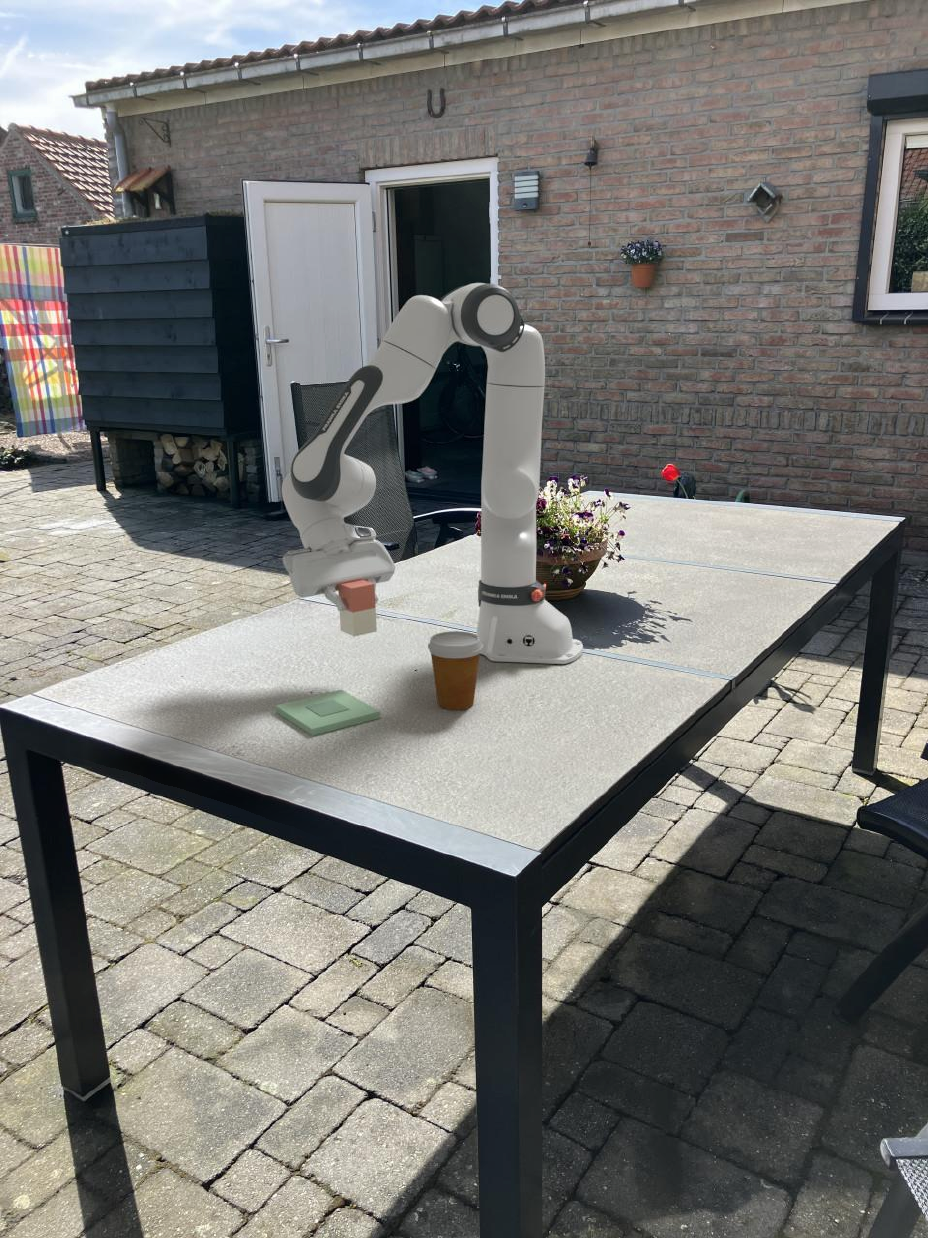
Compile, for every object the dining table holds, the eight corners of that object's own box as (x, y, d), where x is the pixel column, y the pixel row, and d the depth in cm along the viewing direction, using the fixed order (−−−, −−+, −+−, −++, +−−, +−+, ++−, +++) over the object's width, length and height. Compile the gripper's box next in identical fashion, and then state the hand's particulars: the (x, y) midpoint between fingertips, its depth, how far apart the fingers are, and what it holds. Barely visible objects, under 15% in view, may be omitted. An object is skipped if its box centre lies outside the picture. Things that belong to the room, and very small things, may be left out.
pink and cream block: (363, 625, 192) (360, 578, 189) (376, 631, 188) (374, 583, 185) (340, 630, 189) (338, 583, 186) (354, 636, 185) (351, 588, 183)
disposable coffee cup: (464, 717, 174) (464, 650, 171) (417, 706, 179) (417, 641, 175) (492, 700, 182) (493, 636, 178) (447, 690, 187) (447, 627, 183)
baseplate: (341, 695, 184) (341, 689, 183) (380, 718, 174) (380, 710, 173) (275, 712, 176) (275, 704, 176) (312, 736, 166) (312, 728, 166)
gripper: (283, 542, 183) (313, 607, 178) (380, 527, 195) (411, 587, 190) (274, 562, 188) (303, 625, 183) (369, 546, 199) (399, 605, 194)
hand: (359, 605), depth 186 cm, fingers closed on pink and cream block, 5 cm apart
